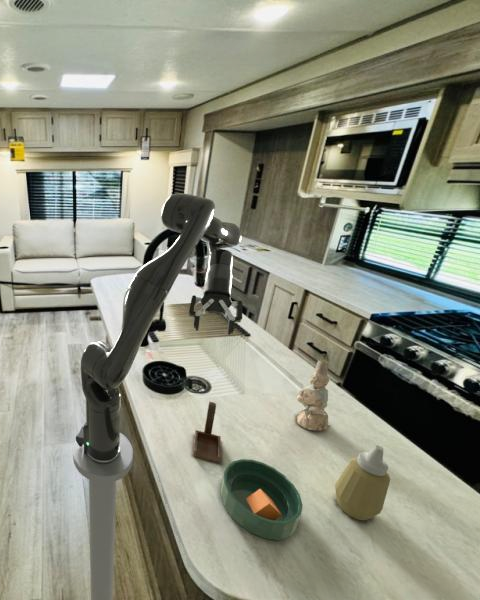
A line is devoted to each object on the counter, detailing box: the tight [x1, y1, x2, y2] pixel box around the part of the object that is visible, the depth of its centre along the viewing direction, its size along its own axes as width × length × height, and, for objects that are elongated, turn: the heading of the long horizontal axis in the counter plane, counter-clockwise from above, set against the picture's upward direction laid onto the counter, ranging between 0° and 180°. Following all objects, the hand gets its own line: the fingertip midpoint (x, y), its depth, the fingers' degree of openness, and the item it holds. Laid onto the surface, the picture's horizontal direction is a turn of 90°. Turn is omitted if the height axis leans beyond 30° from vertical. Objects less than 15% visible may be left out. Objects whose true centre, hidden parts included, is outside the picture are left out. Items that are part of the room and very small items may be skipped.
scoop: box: [192, 401, 222, 464], centre depth 84 cm, size 9×7×12 cm
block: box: [246, 489, 282, 520], centre depth 67 cm, size 4×4×4 cm
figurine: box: [296, 360, 331, 431], centre depth 90 cm, size 9×8×20 cm
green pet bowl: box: [220, 458, 303, 541], centre depth 70 cm, size 15×15×6 cm
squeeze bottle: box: [334, 445, 391, 521], centre depth 67 cm, size 8×8×18 cm
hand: (212, 332), depth 89 cm, fingers open, 8 cm apart
